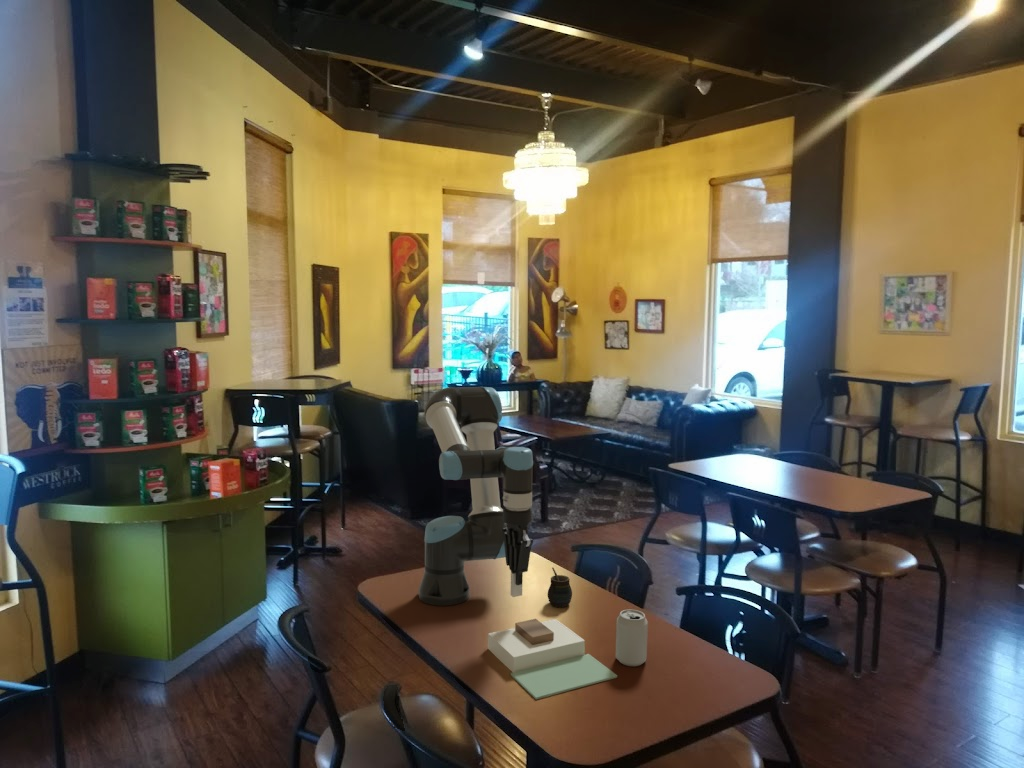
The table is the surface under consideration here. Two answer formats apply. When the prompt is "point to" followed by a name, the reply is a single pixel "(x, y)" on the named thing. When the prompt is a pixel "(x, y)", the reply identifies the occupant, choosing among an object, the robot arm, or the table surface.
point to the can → (631, 637)
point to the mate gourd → (559, 590)
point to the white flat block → (535, 647)
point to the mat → (562, 676)
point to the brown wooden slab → (534, 631)
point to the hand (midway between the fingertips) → (516, 595)
